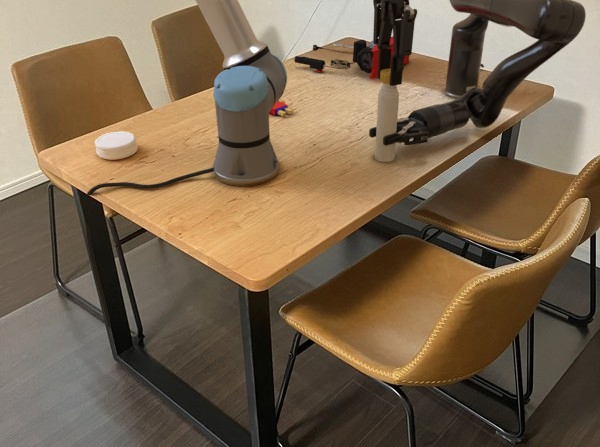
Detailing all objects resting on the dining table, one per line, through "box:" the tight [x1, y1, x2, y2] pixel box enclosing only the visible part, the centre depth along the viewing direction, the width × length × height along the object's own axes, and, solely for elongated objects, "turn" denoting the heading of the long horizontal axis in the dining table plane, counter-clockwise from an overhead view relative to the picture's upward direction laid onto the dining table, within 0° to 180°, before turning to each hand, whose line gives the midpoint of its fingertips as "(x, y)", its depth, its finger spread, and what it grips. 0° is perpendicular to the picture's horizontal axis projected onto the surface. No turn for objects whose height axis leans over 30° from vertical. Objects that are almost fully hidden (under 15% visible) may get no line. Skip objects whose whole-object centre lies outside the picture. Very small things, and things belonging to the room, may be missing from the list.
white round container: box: [94, 130, 139, 161], centre depth 154 cm, size 10×10×4 cm
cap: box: [379, 69, 391, 84], centre depth 140 cm, size 4×4×2 cm
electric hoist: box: [293, 35, 410, 80], centre depth 208 cm, size 10×27×30 cm
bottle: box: [374, 83, 400, 163], centre depth 145 cm, size 5×5×21 cm
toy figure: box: [269, 99, 294, 117], centre depth 177 cm, size 2×7×12 cm
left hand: (389, 81), depth 140 cm, fingers closed on cap, 4 cm apart
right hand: (377, 137), depth 146 cm, fingers closed on bottle, 4 cm apart
